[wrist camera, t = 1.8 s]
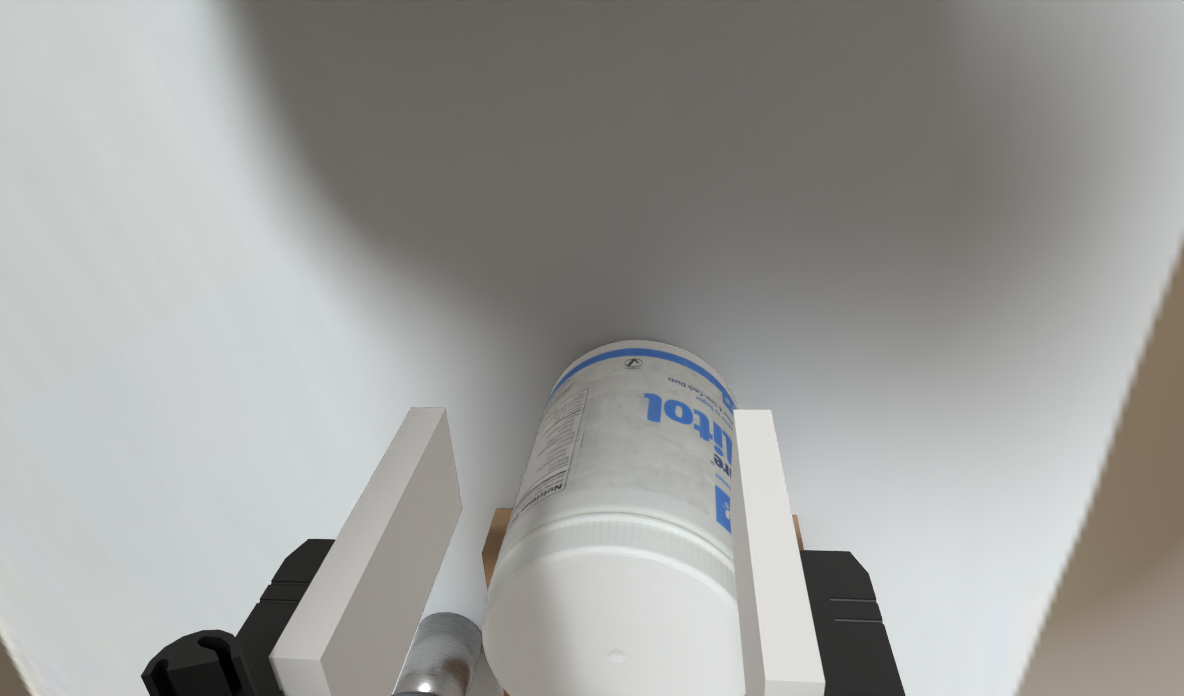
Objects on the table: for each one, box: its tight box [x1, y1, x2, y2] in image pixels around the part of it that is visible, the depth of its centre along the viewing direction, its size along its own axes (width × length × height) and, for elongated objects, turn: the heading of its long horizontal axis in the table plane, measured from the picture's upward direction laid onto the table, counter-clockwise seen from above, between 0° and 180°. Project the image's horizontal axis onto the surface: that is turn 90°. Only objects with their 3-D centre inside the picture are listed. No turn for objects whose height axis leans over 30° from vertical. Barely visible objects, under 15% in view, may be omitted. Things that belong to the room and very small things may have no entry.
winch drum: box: [391, 613, 483, 696], centre depth 44 cm, size 5×6×7 cm
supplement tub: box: [482, 340, 746, 696], centre depth 32 cm, size 10×10×15 cm
